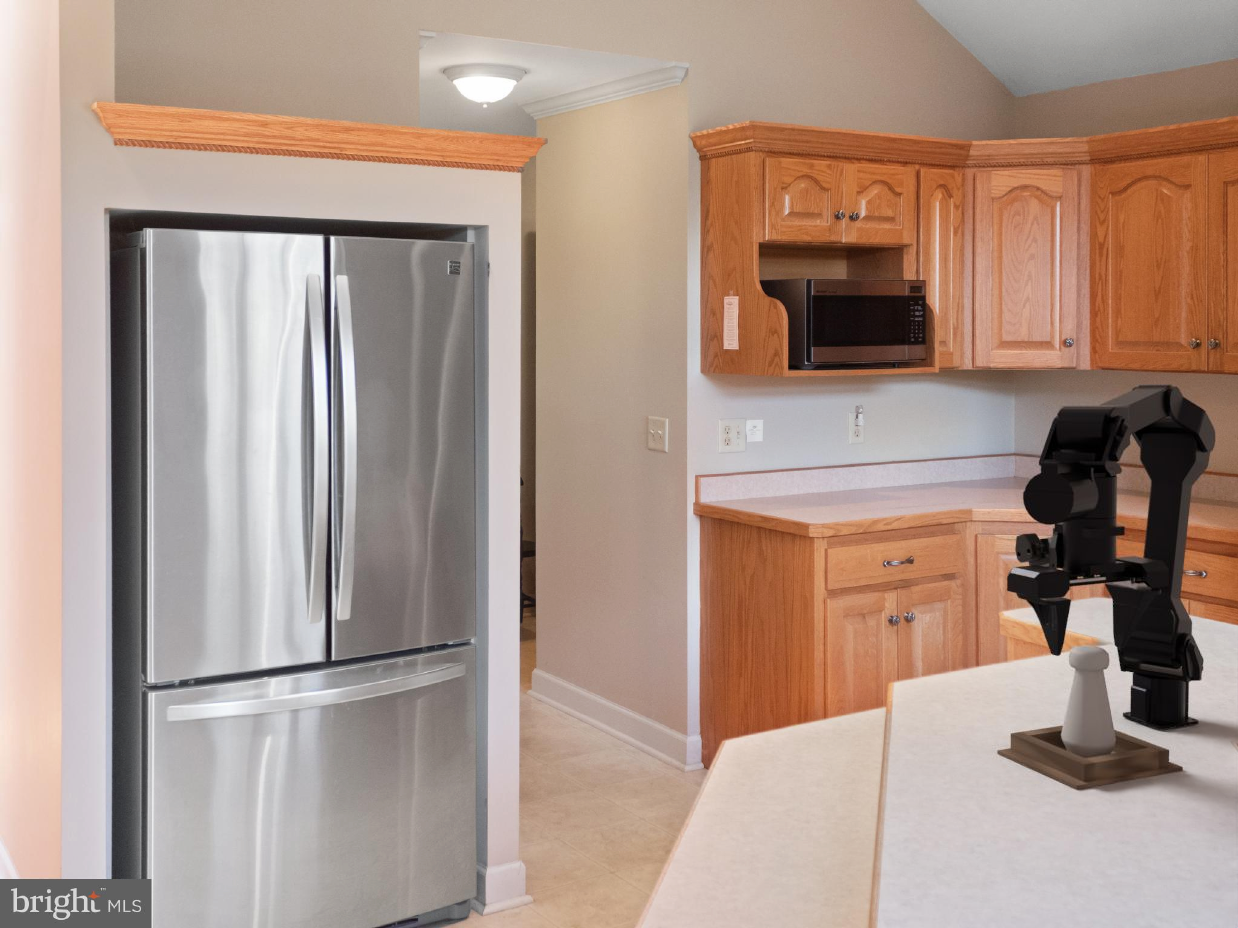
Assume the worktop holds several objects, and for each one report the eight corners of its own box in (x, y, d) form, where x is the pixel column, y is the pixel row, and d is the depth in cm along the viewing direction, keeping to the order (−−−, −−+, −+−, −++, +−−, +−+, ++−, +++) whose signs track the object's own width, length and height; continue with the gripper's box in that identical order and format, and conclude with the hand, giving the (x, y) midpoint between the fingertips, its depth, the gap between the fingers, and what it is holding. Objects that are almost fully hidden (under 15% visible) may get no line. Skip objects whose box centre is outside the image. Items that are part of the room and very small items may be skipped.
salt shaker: (1120, 767, 130) (1121, 653, 129) (1066, 765, 131) (1067, 652, 130) (1108, 750, 135) (1109, 642, 134) (1057, 748, 136) (1057, 641, 135)
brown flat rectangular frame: (1097, 737, 142) (1097, 718, 141) (1182, 770, 129) (1183, 749, 129) (997, 753, 136) (997, 733, 136) (1076, 789, 124) (1076, 767, 124)
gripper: (1101, 504, 142) (1100, 629, 143) (976, 513, 135) (975, 644, 136) (1173, 514, 131) (1171, 648, 132) (1041, 524, 125) (1040, 665, 126)
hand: (1087, 650), depth 132 cm, fingers open, 9 cm apart
